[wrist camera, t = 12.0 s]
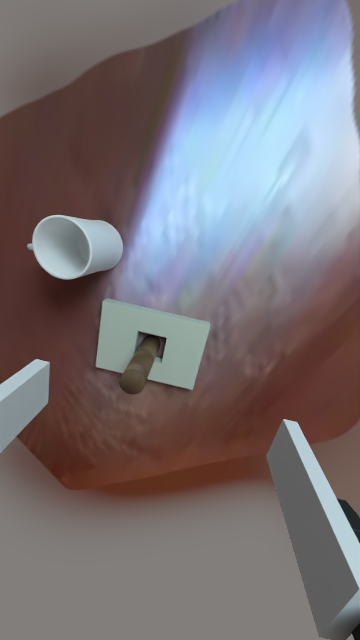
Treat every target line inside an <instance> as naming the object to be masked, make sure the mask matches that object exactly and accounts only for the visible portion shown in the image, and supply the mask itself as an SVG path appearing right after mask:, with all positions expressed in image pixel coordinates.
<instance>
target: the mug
mask: <svg viewBox="0 0 360 640" xmlns="http://www.w3.org/2000/svg"><path fill="white" fill-rule="evenodd" d="M27 247H28V249H29V250H33V251H34V254H35V257H36V259H37V261H38V262H39V264H40V265H41V266H42V268H43V269H44V270H45V271H47V272H48V273H49V274H51V275H52V276H54V277H57V278H60V279H75V278H78V277H81V276H85V275H88V274H91V273H95V272H98V271H106V270H109V269H111V268H113V267H115V266H116V265H117V264H118V262H119V261H120V259H121V257H122V253H123V244H122V240H121V237H120V235H119V233H118V232H117V230H116V229H115V228H114V227H113V226H112V225H110V224H109V223H107V222H104V221H101V220H86V219H80V218H75V217H69V216H63V215H52V216H49V217H46V218H45V219H43V220H42V221H41V222H40V223H39V224H38V225H37V227H36V228H35V231H34V234H33V239H32V244H28V245H27Z"/></svg>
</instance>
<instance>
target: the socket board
mask: <svg viewBox="0 0 360 640" xmlns="http://www.w3.org/2000/svg"><path fill="white" fill-rule="evenodd" d="M209 329H210V322H206V321H202V320H198V319H193V318H189V317H185V316H180V315H176V314H172V313H167V312H163V311H159V310H155V309H150V308H146V307H142V306H137V305H133V304H129V303H124V302H120V301H116V300H112V299H105V300H104V301H103V304H102V313H101V323H100V332H99V341H98V350H97V360H96V367H98V368H103V369H107V370H111V371H115V372H119V373H124V371H125V369H126V368H127V366H128V364H129V363H130V361H131V359H132V358H133V356H134V354H135V353H136V350H137V345H138V339H139V333H140V332H145V333H149V334H153V335H157V336H162V337H166V338H167V340H166V344H165V349H164V354H163V358H158V357H156V358H155V360H154V363H153V365H152V368H151V370H150V373H149V375H148V378H147V379H149V380H153V381H157V382H162V383H166V384H170V385H174V386H178V387H183V388H187V389H191V390H193V387H194V383H195V379H196V376H197V372H198V368H199V365H200V361H201V358H202V354H203V350H204V347H205V343H206V339H207V336H208V332H209Z"/></svg>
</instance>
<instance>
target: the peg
mask: <svg viewBox="0 0 360 640" xmlns="http://www.w3.org/2000/svg"><path fill="white" fill-rule="evenodd" d="M159 348H160V340H159V339H158V338H157V337H156V336H154V335H148V336H146V337H145V338H144V339H143V341H142V343H141V344H140V346H139V348H138V349H137V351H136V353H135V354H134V356H133V358H132V359H131V361H130V363H129V364H128V366H127V368H126V369H125V371H124V373H123V374H122V376H121V378H120V381H119V383H120V387H121V388H122V389H123V390H124V391H125V392H126V393H129V394H138V393H140V392H141V391H142V390H143V388H144V385H145V383H146V380H147V378H148V375H149V373H150V370H151V368H152V365H153V363H154V360H155V358H156V355H157V353H158V350H159Z"/></svg>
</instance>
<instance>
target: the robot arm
mask: <svg viewBox="0 0 360 640" xmlns="http://www.w3.org/2000/svg"><path fill="white" fill-rule="evenodd" d="M49 363H50V362H46V361H42V360H38V359H36V360H34V361H33V362H31V363H30V364H29V365H27V366H26V367H24V368H23V369H22V370H20V371H19V372H17V373H16V374H15V375H13V376H12V377H10V378H9V379H8V380H6V381H5V382H3V383H2V384H1V385H0V453H1V452H2V451H3V449H4V448H5V447H6V446H7V445H8V444H9V443H10V442H11V441H12V440H13V439H14V438H15V437H16V436H17V435H18V434H19V433H20V432H21V431H22V430H23V428H24V427H25V426H26V425H27V424H28V423H29V422H30V421H31V420H32V419H33V418H34V417H35V416H36V415H37V414H38V413H39V412H40V411H41V410H42V409H43V407H44V406H45V405H46V404H47V403H48V391H49ZM266 457H267V460H268V464H269V467H270V471H271V474H272V477H273V481H274V484H275V488H276V491H277V494H278V498H279V501H280V505H281V508H282V512H283V515H284V518H285V521H286V525H287V529H288V532H289V535H290V539H291V542H292V545H293V549H294V552H295V556H296V559H297V563H298V566H299V569H300V573H301V576H302V580H303V583H304V586H305V590H306V593H307V597H308V600H309V604H310V606H311V610H312V614H313V617H314V621H315V624H316V627H317V631H318V634H319V637H323V638H326V639H331V640H346V639H347V638H348V637H349V636H350V635H351V634H352V635H353V637H354V639H355V640H360V518H359V516H358V515H357V513H356V512H355V511H354V510H353V509H352V507H351V506H350V505H349V504H348V503H347V502H346V501H345V500H340V499H337V498H336V497H335V495H334V493H333V491H332V489H331V487H330V485H329V483H328V481H327V479H326V478H325V475H324V474H323V472H322V470H321V468H320V466H319V464H318V462H317V460H316V458H315V456H314V454H313V452H312V450H311V448H310V447H309V444H308V443H307V441H306V439H305V437H304V435H303V433H302V431H301V429H300V427H299V425H298V423H297V422H294V421H289V420H285V419H283V420H282V423H281V425H280V427H279V429H278V431H277V434H276V436H275V438H274V440H273V442H272V445H271V447H270V449H269V451H268V453H267V456H266Z"/></svg>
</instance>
